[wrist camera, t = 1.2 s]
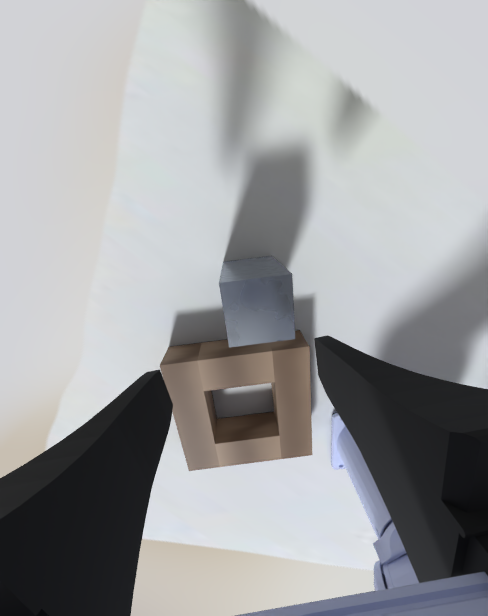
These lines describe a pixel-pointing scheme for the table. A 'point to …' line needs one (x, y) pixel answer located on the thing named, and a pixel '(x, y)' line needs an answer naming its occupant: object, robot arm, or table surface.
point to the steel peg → (257, 301)
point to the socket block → (236, 373)
